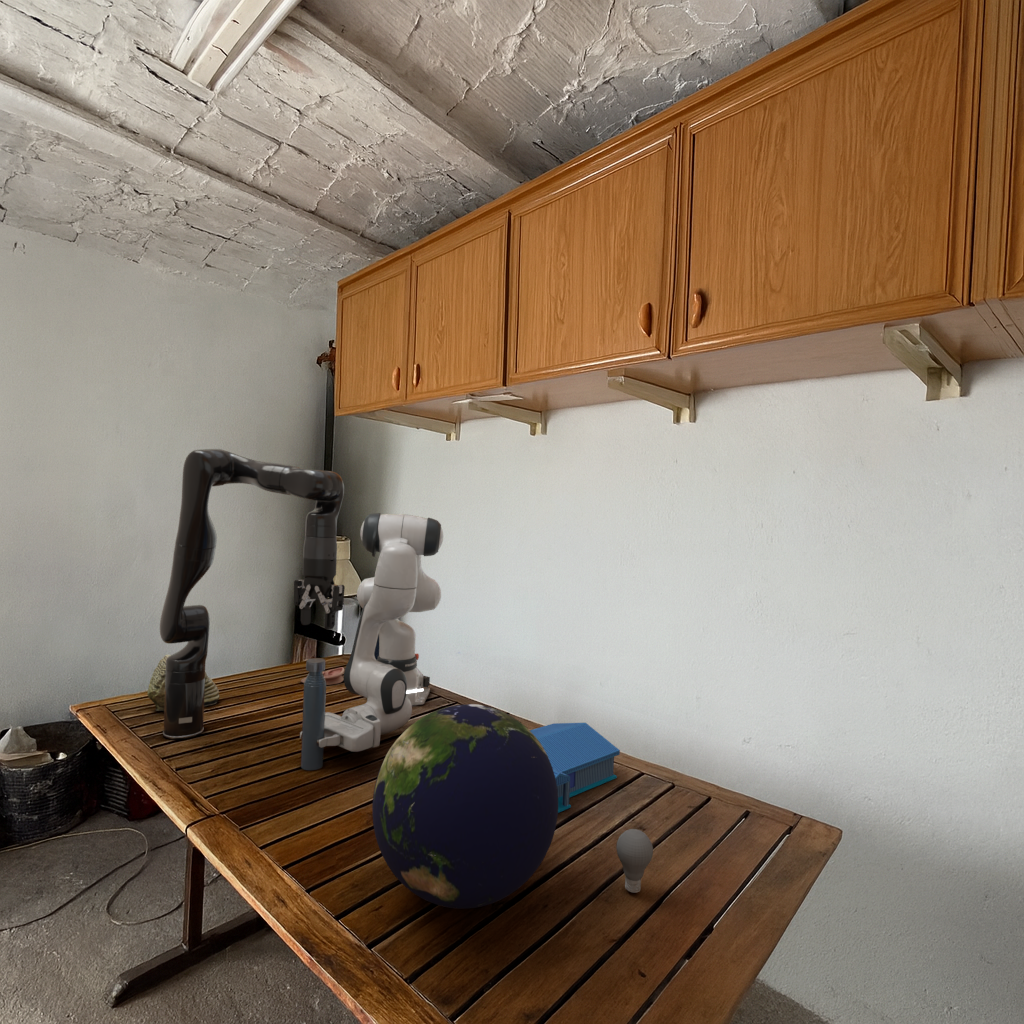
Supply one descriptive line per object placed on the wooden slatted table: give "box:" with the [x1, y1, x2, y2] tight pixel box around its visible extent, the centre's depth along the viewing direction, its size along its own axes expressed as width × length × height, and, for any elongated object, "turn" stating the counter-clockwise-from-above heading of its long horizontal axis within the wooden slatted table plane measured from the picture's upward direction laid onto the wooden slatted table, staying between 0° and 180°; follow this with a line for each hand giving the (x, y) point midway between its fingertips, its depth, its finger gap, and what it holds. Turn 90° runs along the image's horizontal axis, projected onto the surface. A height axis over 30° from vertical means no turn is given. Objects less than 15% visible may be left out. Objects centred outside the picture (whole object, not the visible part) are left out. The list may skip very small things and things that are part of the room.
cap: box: [305, 657, 326, 673], centre depth 148 cm, size 4×4×2 cm
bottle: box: [300, 671, 327, 771], centre depth 148 cm, size 5×5×24 cm
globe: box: [371, 703, 559, 910], centre depth 103 cm, size 30×30×30 cm
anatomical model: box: [300, 666, 345, 686], centre depth 215 cm, size 13×4×12 cm
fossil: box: [147, 654, 221, 712], centre depth 185 cm, size 9×18×15 cm, turn 132°
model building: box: [529, 722, 621, 814], centre depth 143 cm, size 39×24×10 cm, turn 132°
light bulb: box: [615, 828, 654, 894], centre depth 106 cm, size 6×6×10 cm
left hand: (317, 626), depth 148 cm, fingers open, 7 cm apart
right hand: (309, 739), depth 148 cm, fingers closed on bottle, 5 cm apart
